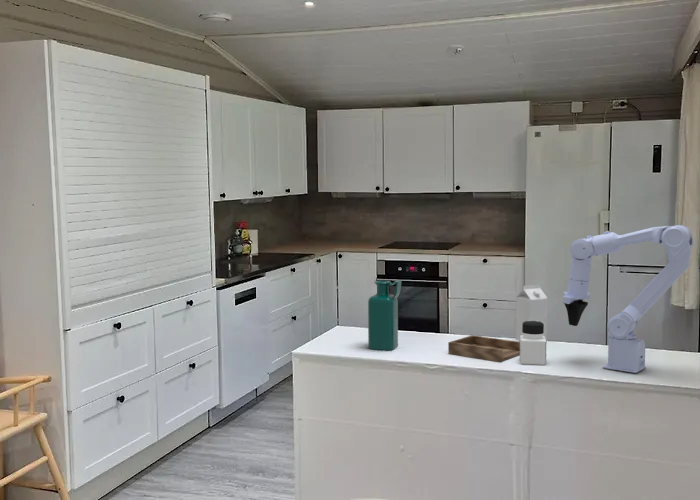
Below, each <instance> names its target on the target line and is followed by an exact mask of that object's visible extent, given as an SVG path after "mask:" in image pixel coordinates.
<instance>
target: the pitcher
mask: <svg viewBox="0 0 700 500" xmlns="http://www.w3.org/2000/svg"><path fill="white" fill-rule="evenodd" d="M374 284H375V285H376V289H377V290H376V294H373V295H371V296H370V297H369V298H368V300H367V324H368V325H367V327H368V330H367V333H368V335H367V336H368V337H367V338H368V339H367V341H368V342H367V343H368V345H367V347H368V349H369V350H373V351H383V350H386V352H387V351H389V352H390V350H391V351H393V350H395V349H396V348H398V346H399V326H398V325H399V315H398V314H399V313H398V312H399V309H398V308H399V302H398V297H399V295H400V293H401V289H402V280H400V279H397V280H395V281H393V282H391V281H390V280H376V281H374ZM393 285H395V293H394V294H390V291H389V287H391V286H393Z"/></svg>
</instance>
